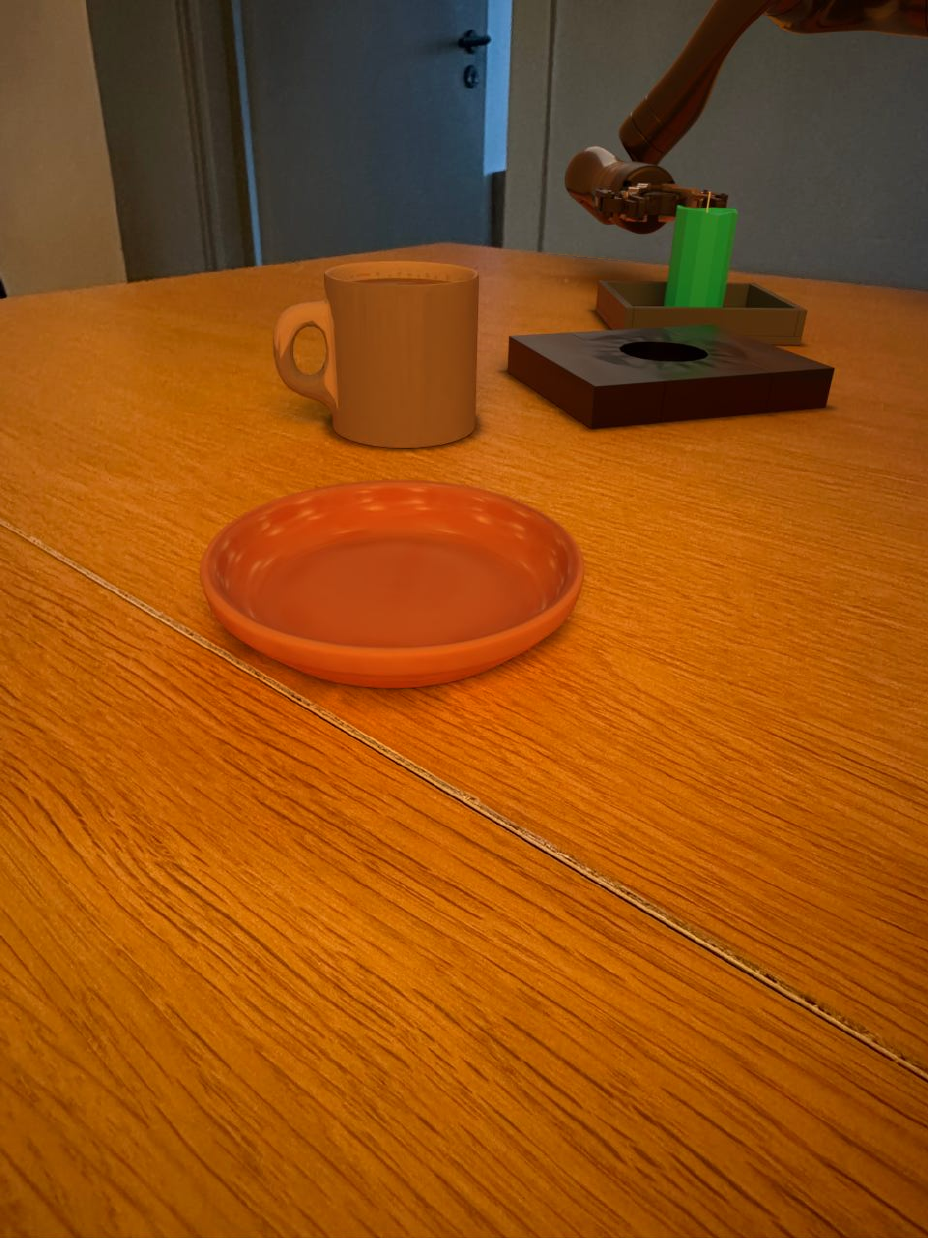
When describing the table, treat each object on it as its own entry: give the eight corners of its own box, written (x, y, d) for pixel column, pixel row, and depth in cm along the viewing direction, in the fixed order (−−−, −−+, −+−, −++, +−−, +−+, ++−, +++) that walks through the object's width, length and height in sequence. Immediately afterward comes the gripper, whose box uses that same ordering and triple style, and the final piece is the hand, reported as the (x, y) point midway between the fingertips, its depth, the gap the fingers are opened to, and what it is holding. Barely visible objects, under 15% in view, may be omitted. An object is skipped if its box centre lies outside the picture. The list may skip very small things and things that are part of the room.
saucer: (616, 711, 32) (626, 641, 30) (172, 725, 31) (158, 653, 29) (546, 530, 46) (550, 476, 44) (237, 534, 44) (231, 479, 43)
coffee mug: (469, 403, 65) (472, 261, 60) (481, 447, 57) (485, 285, 52) (289, 403, 64) (277, 259, 59) (273, 448, 56) (258, 284, 51)
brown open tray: (749, 313, 98) (754, 282, 96) (800, 345, 85) (808, 309, 83) (595, 311, 97) (598, 280, 96) (622, 342, 84) (626, 307, 82)
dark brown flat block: (709, 357, 79) (715, 324, 78) (826, 407, 66) (835, 367, 65) (507, 371, 74) (508, 335, 72) (590, 429, 60) (595, 386, 59)
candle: (657, 321, 89) (673, 191, 83) (667, 310, 94) (684, 187, 88) (716, 326, 87) (737, 194, 81) (723, 316, 92) (744, 190, 86)
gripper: (582, 161, 103) (619, 169, 90) (696, 163, 105) (750, 172, 91) (576, 229, 107) (611, 247, 93) (687, 230, 109) (737, 248, 95)
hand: (680, 210), depth 92 cm, fingers open, 8 cm apart
